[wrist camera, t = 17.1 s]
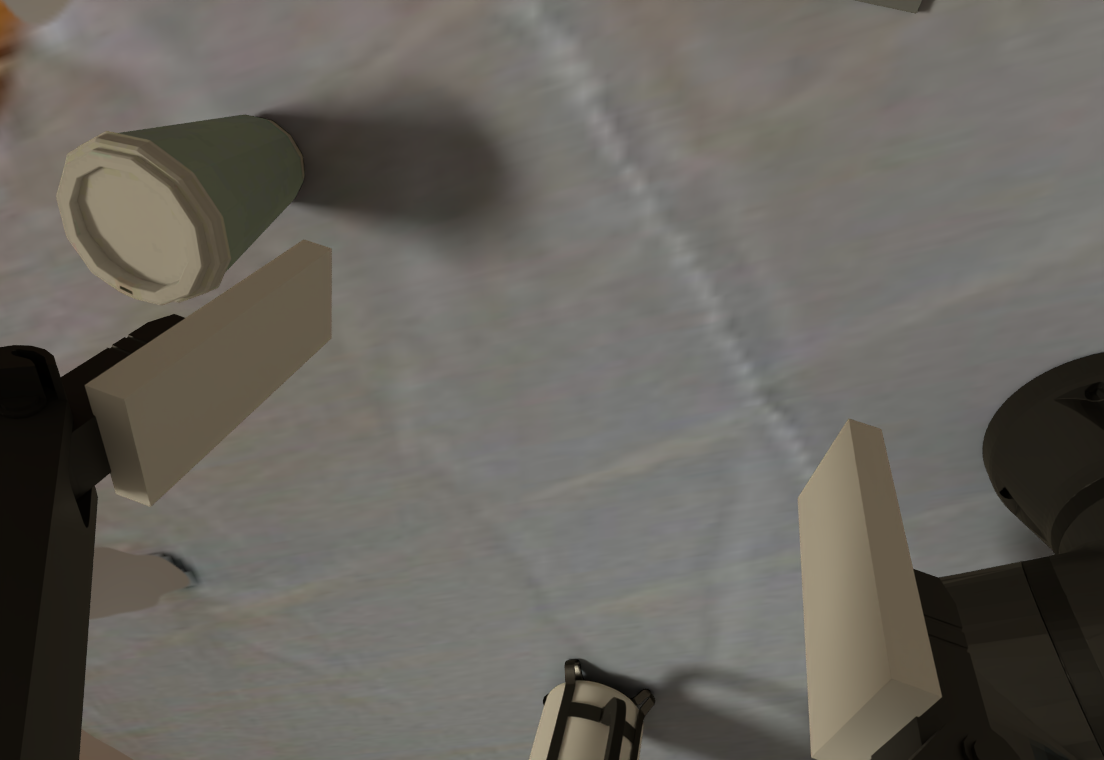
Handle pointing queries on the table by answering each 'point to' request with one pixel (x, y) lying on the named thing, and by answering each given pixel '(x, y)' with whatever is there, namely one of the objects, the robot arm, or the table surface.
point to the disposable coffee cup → (176, 202)
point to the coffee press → (589, 721)
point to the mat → (897, 4)
